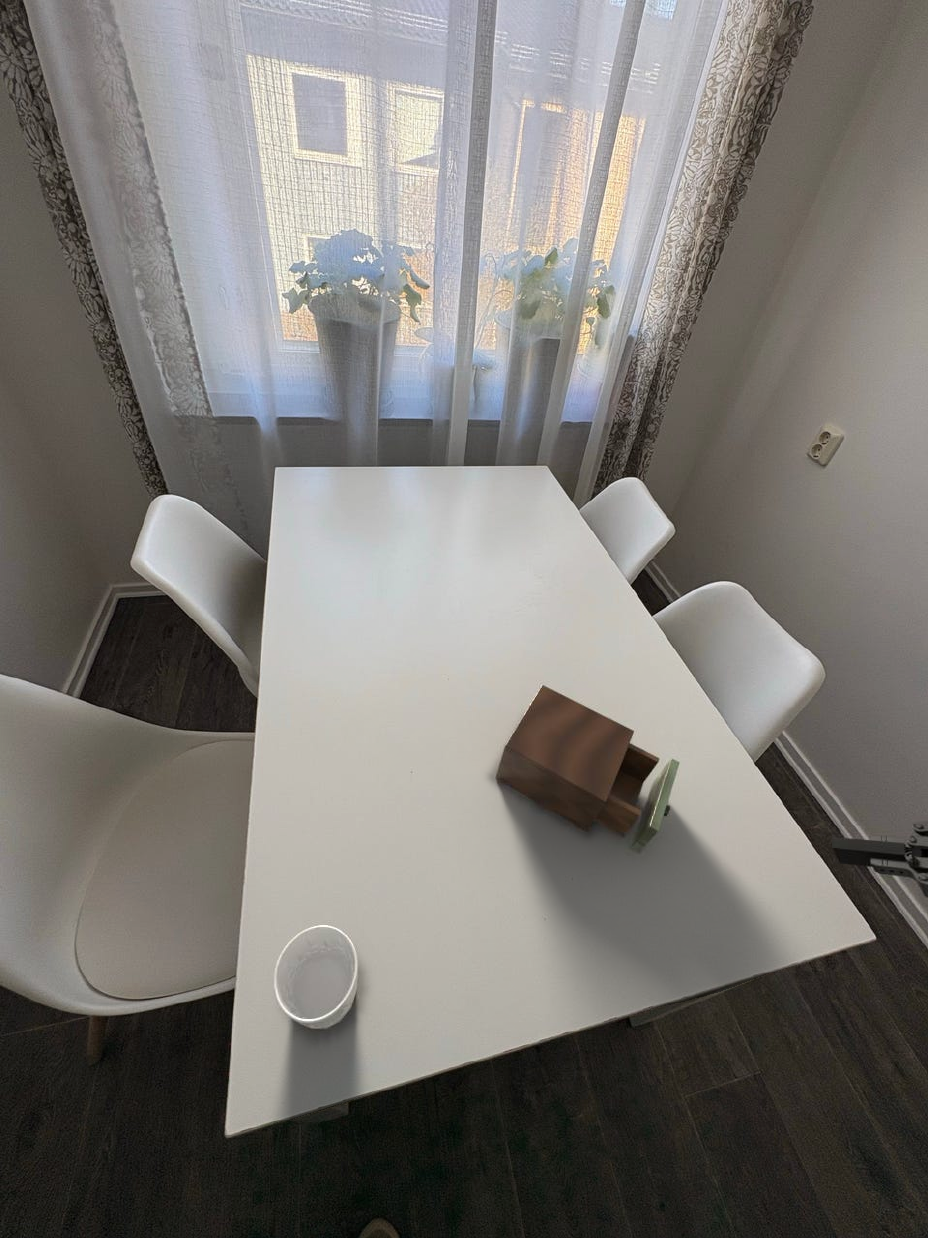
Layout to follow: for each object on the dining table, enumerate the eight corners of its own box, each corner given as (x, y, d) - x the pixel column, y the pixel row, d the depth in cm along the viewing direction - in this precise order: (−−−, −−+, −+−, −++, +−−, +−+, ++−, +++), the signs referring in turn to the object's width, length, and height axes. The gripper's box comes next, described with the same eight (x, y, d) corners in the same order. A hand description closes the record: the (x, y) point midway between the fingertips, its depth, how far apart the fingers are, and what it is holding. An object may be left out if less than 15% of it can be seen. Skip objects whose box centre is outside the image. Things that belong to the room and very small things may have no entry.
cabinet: (614, 763, 81) (634, 730, 74) (586, 831, 72) (606, 802, 66) (530, 718, 85) (542, 684, 79) (495, 778, 77) (504, 745, 70)
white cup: (280, 1036, 54) (263, 1022, 47) (297, 948, 59) (284, 924, 52) (356, 1037, 54) (350, 1023, 47) (366, 950, 60) (362, 926, 53)
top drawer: (668, 791, 77) (688, 766, 72) (647, 858, 70) (668, 836, 64) (577, 743, 82) (590, 716, 76) (548, 801, 74) (560, 776, 69)
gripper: (1211, 991, 40) (845, 923, 56) (1151, 846, 48) (847, 825, 65) (1200, 932, 37) (822, 879, 54) (1138, 791, 46) (828, 783, 63)
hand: (836, 850), depth 59 cm, fingers closed
